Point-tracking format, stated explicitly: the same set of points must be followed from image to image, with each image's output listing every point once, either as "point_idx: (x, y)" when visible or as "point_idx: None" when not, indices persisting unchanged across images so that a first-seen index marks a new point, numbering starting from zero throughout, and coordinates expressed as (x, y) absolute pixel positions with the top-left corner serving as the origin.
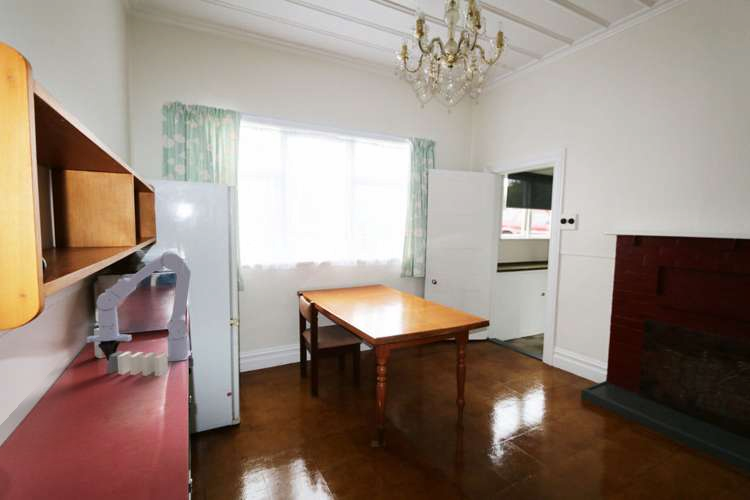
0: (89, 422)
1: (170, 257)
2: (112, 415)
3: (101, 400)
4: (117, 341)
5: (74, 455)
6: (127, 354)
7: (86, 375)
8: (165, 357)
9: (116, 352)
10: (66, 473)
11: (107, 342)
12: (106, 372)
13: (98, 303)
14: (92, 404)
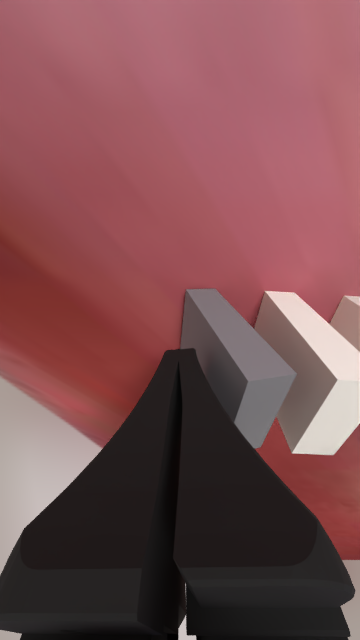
0: (319, 511)
1: None
2: (357, 501)
3: (298, 472)
4: (332, 628)
5: (339, 541)
6: (356, 409)
7: (97, 361)
8: None
9: (240, 413)
10: (346, 551)
11: (168, 632)
12: (180, 348)
13: None
14: (285, 481)
